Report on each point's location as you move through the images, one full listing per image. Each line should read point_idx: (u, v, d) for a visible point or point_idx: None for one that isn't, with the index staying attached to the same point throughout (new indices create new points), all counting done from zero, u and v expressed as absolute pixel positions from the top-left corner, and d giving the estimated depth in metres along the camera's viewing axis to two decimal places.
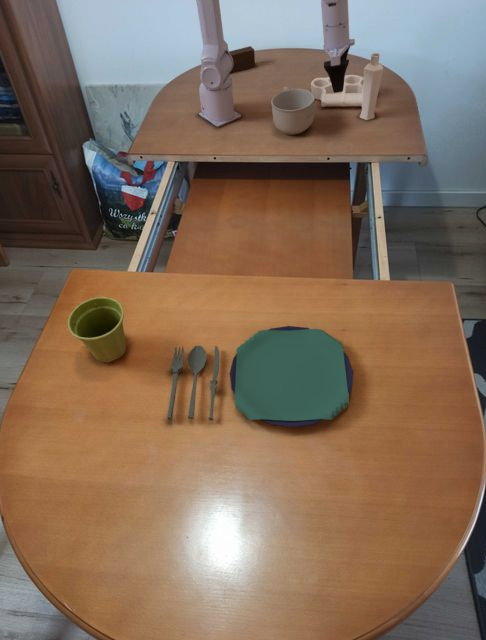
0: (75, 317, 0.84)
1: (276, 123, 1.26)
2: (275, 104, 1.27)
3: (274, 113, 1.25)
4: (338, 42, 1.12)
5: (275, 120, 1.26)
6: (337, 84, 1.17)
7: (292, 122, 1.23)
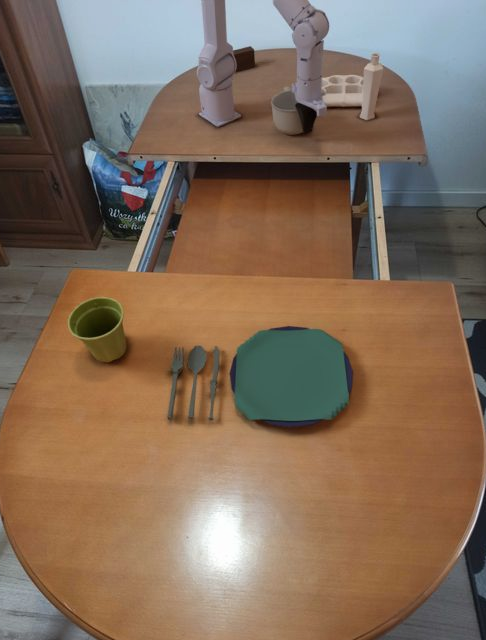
0: (75, 317, 0.84)
1: (276, 123, 1.26)
2: (275, 104, 1.27)
3: (274, 113, 1.25)
4: (316, 94, 1.14)
5: (275, 120, 1.26)
6: (308, 125, 1.22)
7: (292, 122, 1.23)
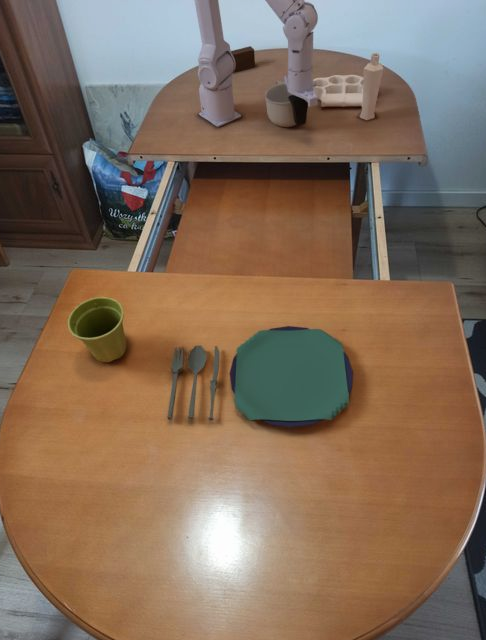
0: (75, 317, 0.84)
1: (270, 116, 1.29)
2: (269, 97, 1.30)
3: (268, 106, 1.27)
4: (307, 85, 1.17)
5: (269, 113, 1.28)
6: None
7: (286, 114, 1.26)
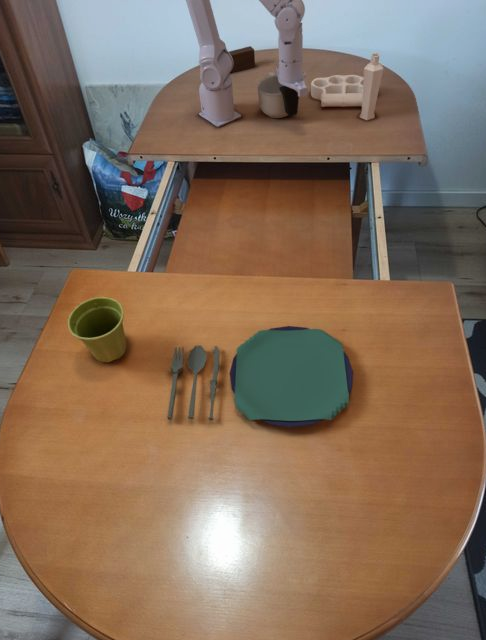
0: (75, 317, 0.84)
1: (262, 107, 1.32)
2: (261, 89, 1.33)
3: (260, 97, 1.30)
4: (297, 75, 1.20)
5: (261, 104, 1.32)
6: None
7: (277, 105, 1.29)
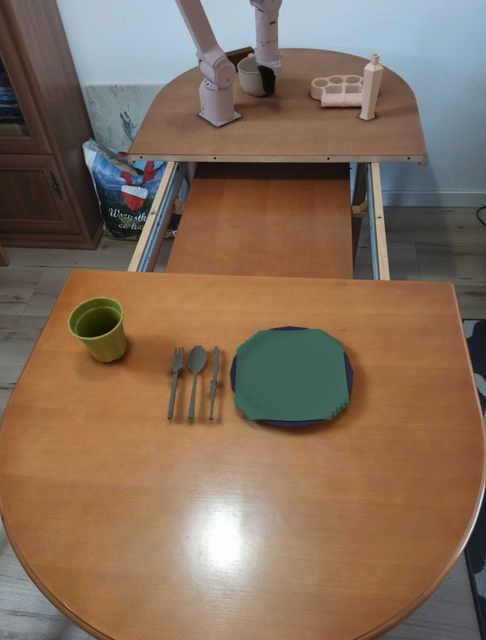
0: (75, 317, 0.84)
1: (242, 85, 1.40)
2: (241, 69, 1.41)
3: (240, 76, 1.39)
4: (274, 55, 1.29)
5: (241, 83, 1.40)
6: None
7: (256, 84, 1.38)
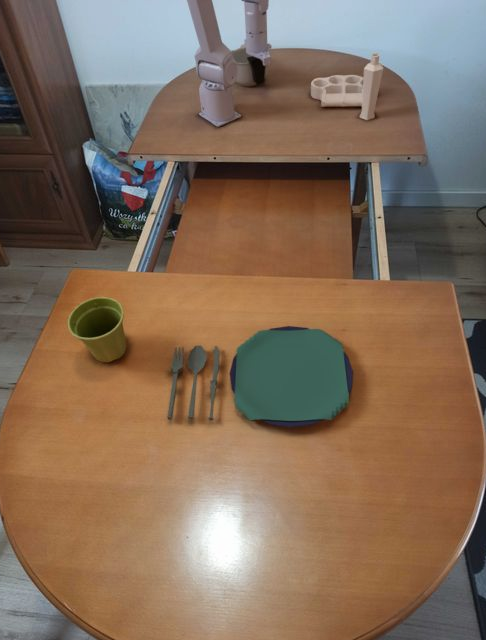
0: (75, 317, 0.84)
1: None
2: None
3: None
4: (263, 46, 1.33)
5: None
6: None
7: (246, 74, 1.42)
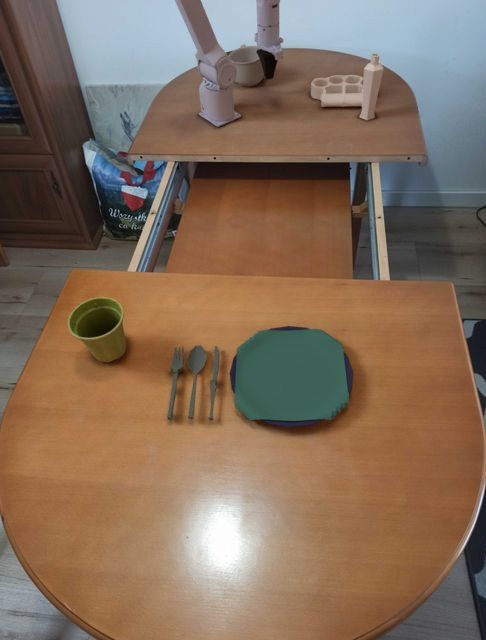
0: (75, 317, 0.84)
1: None
2: (232, 59, 1.46)
3: None
4: (275, 40, 1.28)
5: None
6: (270, 72, 1.36)
7: (246, 74, 1.42)
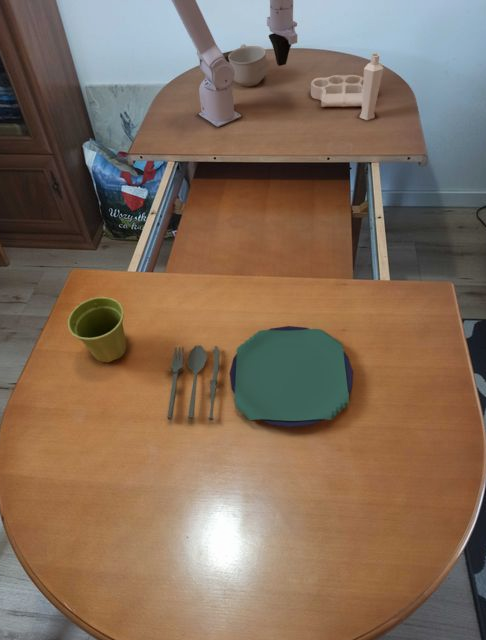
0: (75, 317, 0.84)
1: None
2: (232, 59, 1.46)
3: None
4: (288, 23, 1.23)
5: None
6: (282, 57, 1.31)
7: (246, 74, 1.42)
